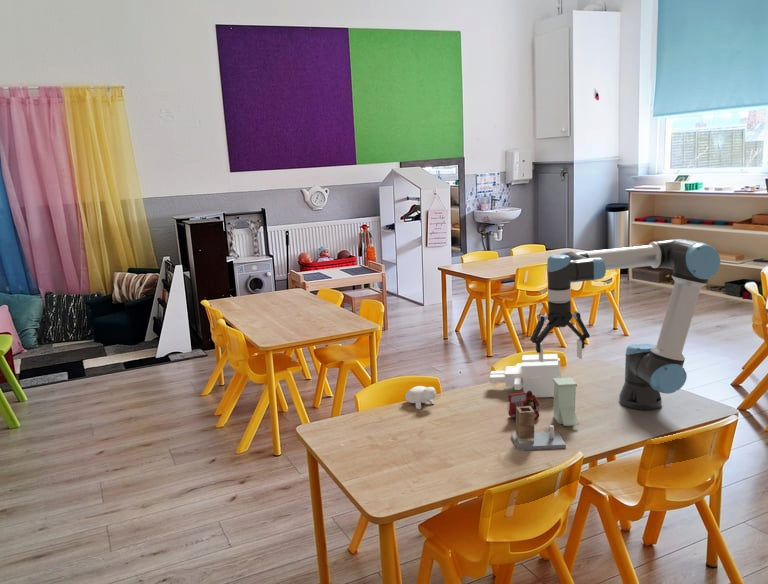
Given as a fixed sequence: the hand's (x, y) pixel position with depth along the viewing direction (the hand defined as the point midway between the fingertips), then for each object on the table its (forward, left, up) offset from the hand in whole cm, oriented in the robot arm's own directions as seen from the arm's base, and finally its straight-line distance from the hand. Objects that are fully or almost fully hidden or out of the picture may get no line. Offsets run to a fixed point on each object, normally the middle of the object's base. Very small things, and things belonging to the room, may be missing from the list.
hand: (560, 359), depth 226 cm
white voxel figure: (+4, -35, -25) cm, 43 cm away
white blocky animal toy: (+47, -26, -26) cm, 59 cm away
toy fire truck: (+11, -8, -25) cm, 29 cm away
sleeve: (+15, +12, -24) cm, 31 cm away
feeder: (-3, -3, -25) cm, 25 cm away
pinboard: (+11, +12, -25) cm, 30 cm away
